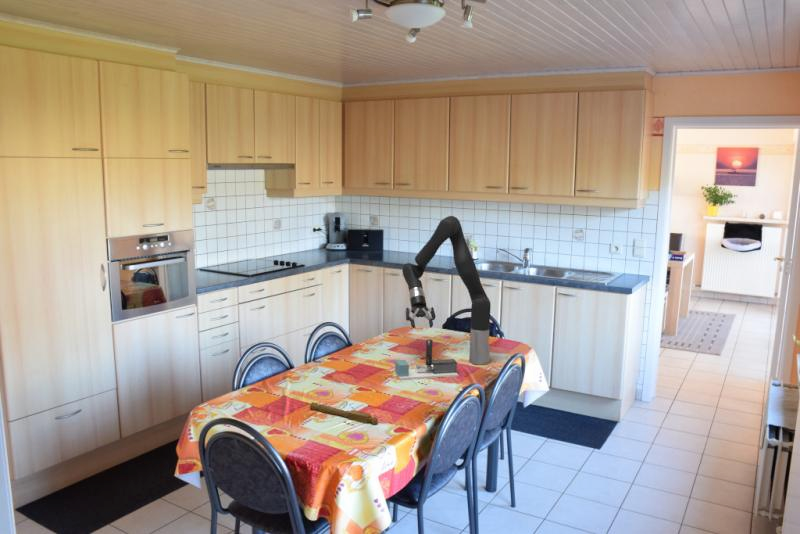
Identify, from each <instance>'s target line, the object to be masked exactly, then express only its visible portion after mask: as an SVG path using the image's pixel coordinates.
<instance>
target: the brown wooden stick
mask: <svg viewBox="0 0 800 534" xmlns="http://www.w3.org/2000/svg"><path fill="white" fill-rule="evenodd" d="M309 408H310V410H312V411H318V412H321V413H326V414H331V415H335V416H341V417H345V418H348V420H350V421H354V422H358V423H363V424H366V423H367V424H372V425H377V424H378V422H379V419H378V417H377V416H372V415H371V413H367V412H365V411H364V412H363V411H360V410H356V409H352V410H343V409H340V408H336V407H332V406H330V405H326V404H321V403H319V404H318V403H317V402H313V401H312V402H311V403H310V405H309Z"/></svg>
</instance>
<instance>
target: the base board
mask: <svg viewBox="0 0 800 534" xmlns="http://www.w3.org/2000/svg"><path fill="white" fill-rule="evenodd" d="M393 372H394V374H395V375H396V377H397V378H398V380H399V381H406V380H407V379H410V380H425V379H424V378H428V379H439V378H438V377H446V378H459V375H460V374H458V372H457V373H442V374H434V373H433V372H432V371H426V370H419V371H417V369H416V368H414V369H413V368H412V369H410V368H409V376H406V377H399V376H398V375H397V373H396V372H395V369H394V370H393ZM407 381H408V380H407Z"/></svg>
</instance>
